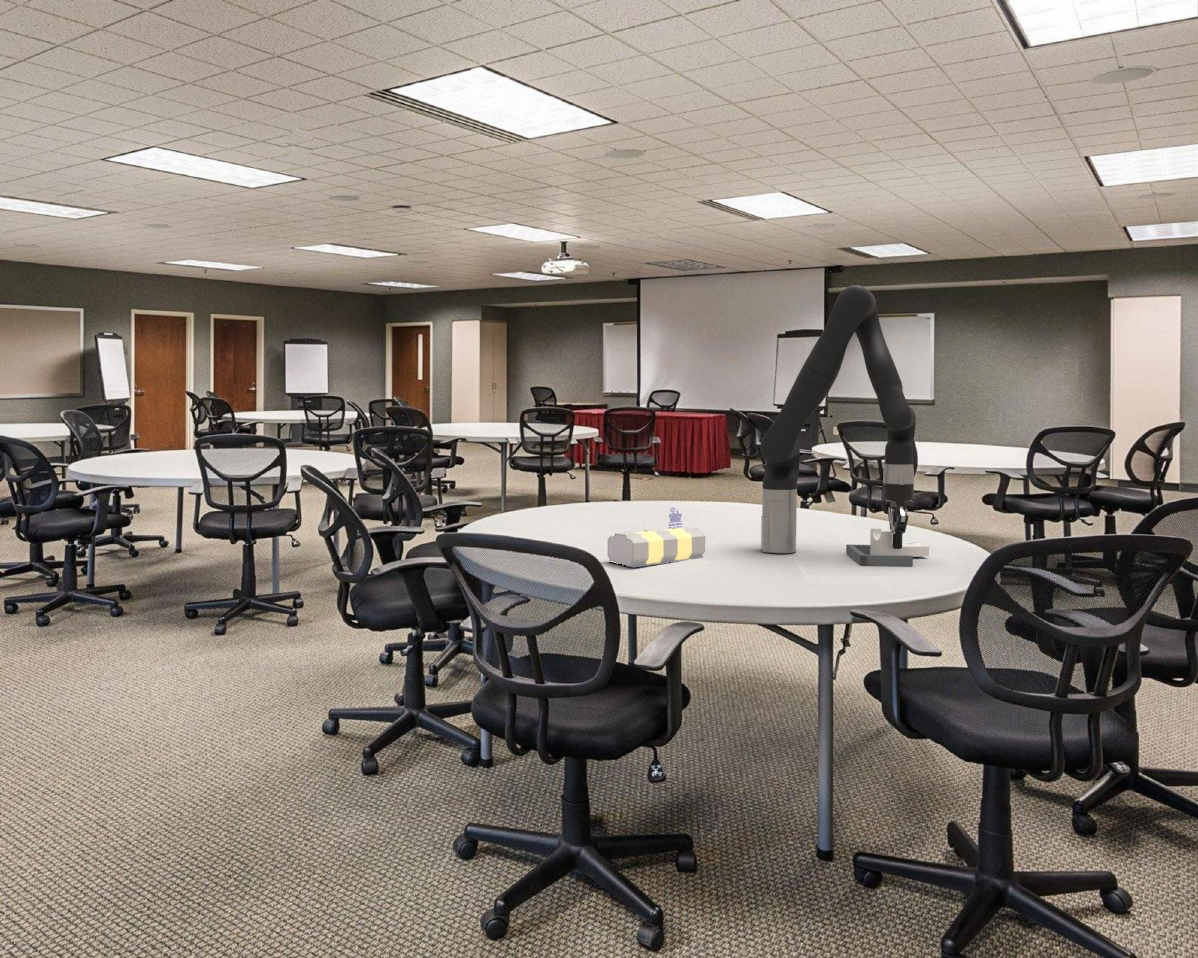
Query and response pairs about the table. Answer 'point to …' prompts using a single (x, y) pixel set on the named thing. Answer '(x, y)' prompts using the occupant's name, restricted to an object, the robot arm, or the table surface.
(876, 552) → the bracket
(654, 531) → the grey yellow banded block
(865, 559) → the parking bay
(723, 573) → the table surface
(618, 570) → the table surface
